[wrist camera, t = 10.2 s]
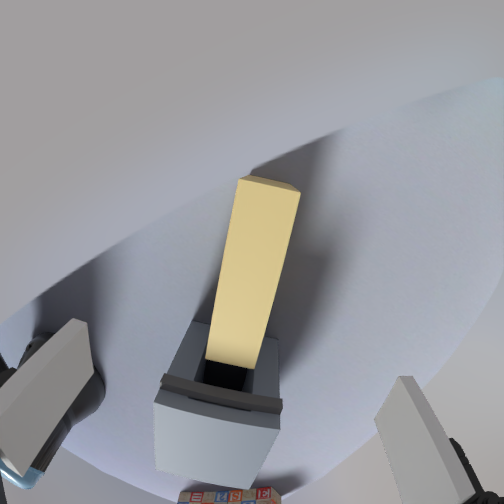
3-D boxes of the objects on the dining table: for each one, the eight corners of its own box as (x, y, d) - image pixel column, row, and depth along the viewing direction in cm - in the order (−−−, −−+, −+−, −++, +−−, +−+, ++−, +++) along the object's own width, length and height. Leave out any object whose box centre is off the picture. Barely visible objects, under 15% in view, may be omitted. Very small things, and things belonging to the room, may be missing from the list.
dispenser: (183, 392, 36) (155, 469, 23) (192, 314, 32) (153, 395, 19) (255, 407, 36) (248, 489, 23) (279, 333, 32) (283, 423, 19)
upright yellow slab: (222, 304, 32) (205, 358, 22) (249, 174, 28) (238, 178, 18) (258, 312, 32) (254, 369, 22) (290, 183, 28) (300, 192, 18)
